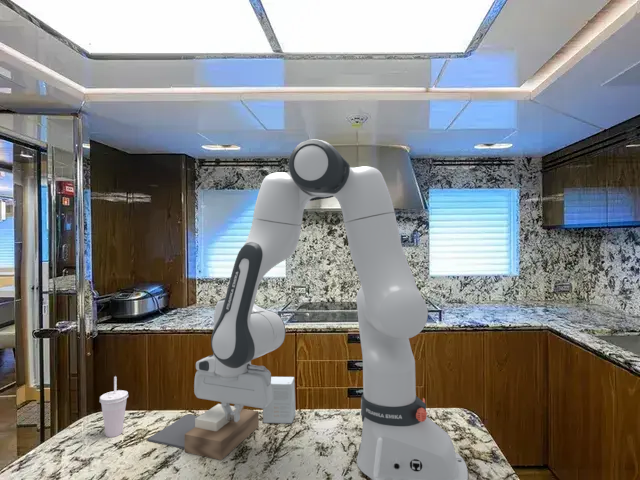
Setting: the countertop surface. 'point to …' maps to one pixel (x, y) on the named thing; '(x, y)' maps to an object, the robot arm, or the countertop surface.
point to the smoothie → (114, 410)
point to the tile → (212, 418)
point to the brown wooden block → (221, 436)
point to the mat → (175, 432)
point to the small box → (281, 401)
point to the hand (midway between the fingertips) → (232, 420)
